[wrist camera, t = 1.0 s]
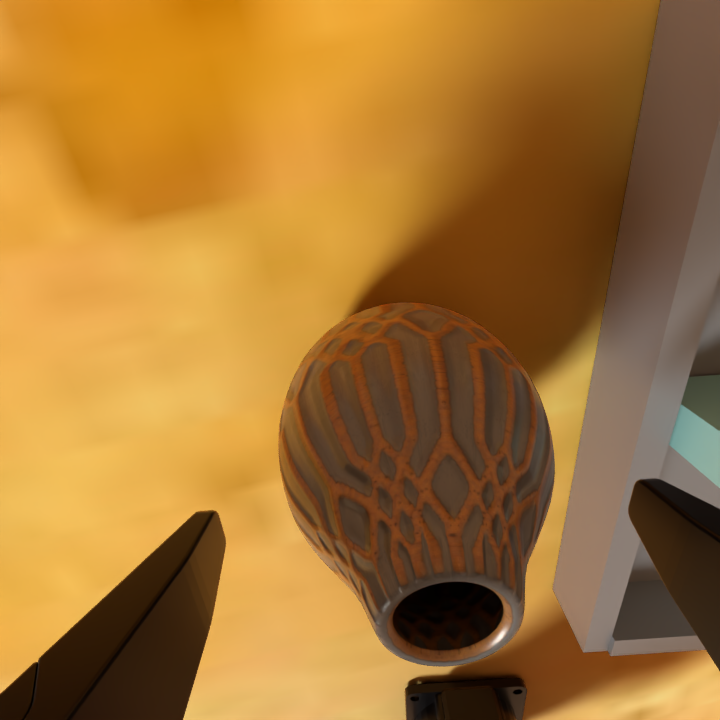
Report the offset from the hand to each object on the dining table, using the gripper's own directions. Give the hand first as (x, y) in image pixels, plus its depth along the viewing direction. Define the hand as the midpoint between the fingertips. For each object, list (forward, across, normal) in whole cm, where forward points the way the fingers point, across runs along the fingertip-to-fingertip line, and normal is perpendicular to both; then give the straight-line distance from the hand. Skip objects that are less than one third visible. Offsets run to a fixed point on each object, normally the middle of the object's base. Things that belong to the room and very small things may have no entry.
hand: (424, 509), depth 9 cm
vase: (+6, 0, 0) cm, 6 cm away
